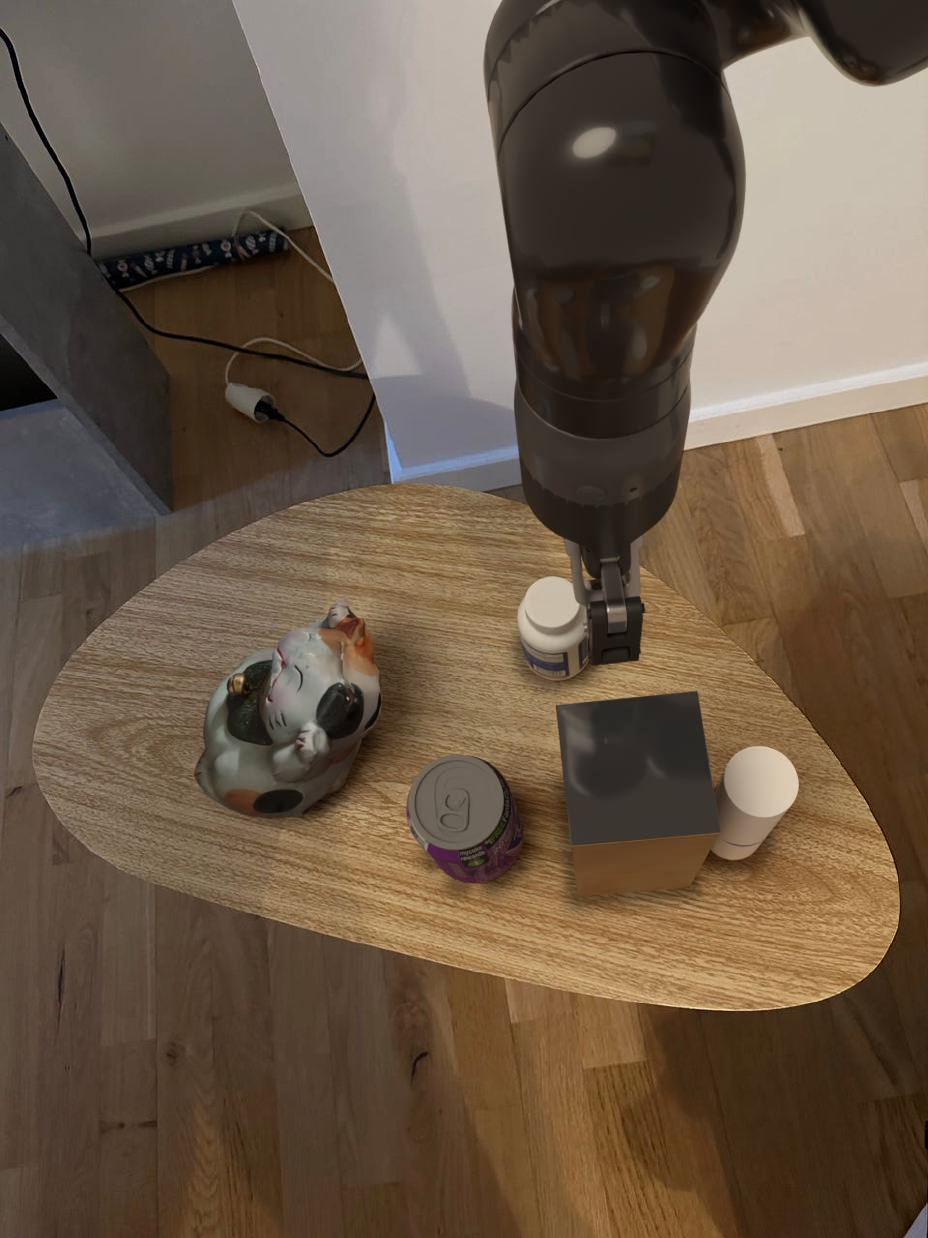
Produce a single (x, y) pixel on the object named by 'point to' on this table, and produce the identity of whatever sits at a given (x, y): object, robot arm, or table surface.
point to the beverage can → (465, 818)
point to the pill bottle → (553, 629)
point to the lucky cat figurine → (291, 719)
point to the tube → (752, 799)
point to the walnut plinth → (639, 865)
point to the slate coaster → (636, 769)
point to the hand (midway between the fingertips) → (596, 579)
